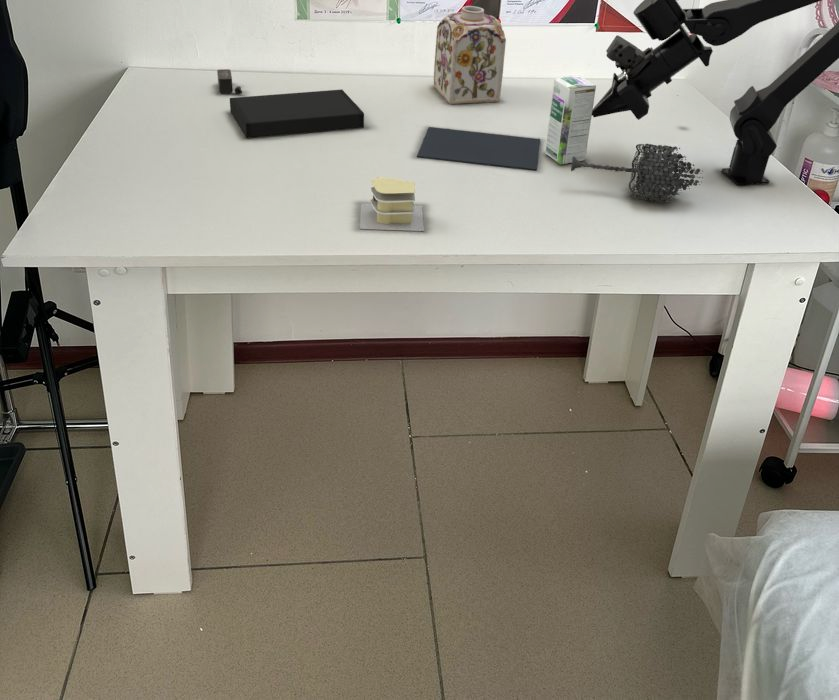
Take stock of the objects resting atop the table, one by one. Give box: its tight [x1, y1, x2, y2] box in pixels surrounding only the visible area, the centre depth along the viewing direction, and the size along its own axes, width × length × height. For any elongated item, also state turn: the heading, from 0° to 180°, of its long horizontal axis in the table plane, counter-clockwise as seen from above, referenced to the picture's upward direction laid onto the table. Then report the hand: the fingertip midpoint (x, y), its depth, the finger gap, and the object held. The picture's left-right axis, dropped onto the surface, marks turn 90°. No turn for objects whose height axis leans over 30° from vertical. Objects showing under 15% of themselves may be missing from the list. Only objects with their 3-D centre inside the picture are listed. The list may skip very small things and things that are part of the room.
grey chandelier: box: [570, 143, 704, 203], centre depth 155 cm, size 9×22×9 cm, turn 82°
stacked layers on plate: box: [359, 176, 425, 232], centre depth 144 cm, size 10×9×6 cm
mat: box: [416, 126, 541, 172], centre depth 171 cm, size 22×15×1 cm
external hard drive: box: [229, 88, 365, 139], centre depth 177 cm, size 14×23×3 cm, turn 112°
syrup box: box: [544, 75, 597, 165], centre depth 165 cm, size 6×6×14 cm
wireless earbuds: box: [216, 68, 243, 95], centre depth 189 cm, size 5×7×3 cm, turn 13°
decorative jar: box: [433, 5, 507, 105], centre depth 191 cm, size 12×12×18 cm
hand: (592, 114), depth 164 cm, fingers closed
